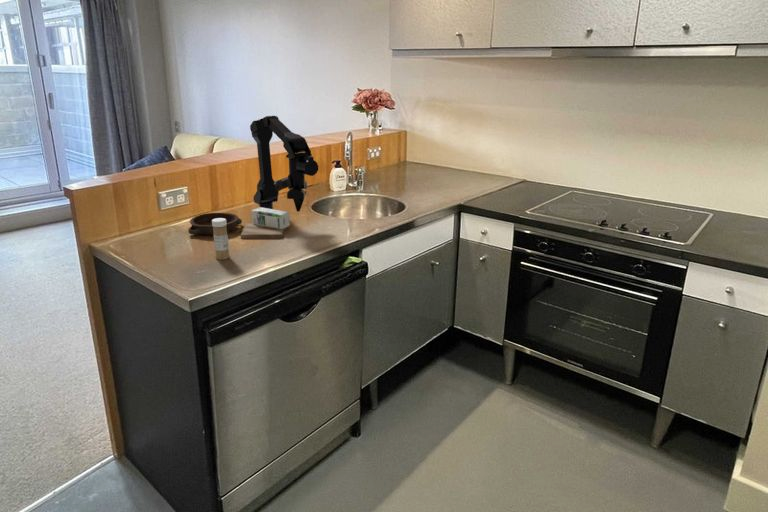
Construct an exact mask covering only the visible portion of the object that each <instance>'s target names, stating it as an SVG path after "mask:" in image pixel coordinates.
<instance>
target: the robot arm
mask: <svg viewBox="0 0 768 512" xmlns="http://www.w3.org/2000/svg"><path fill="white" fill-rule="evenodd" d="M249 128H250V129H249V130H250V131H251V132H250V133H251V137H252V138H253V140H254V142H255V143H256V146H257V147H256V148H257V149H256V150H257V158H258V159H257V160H258V168H259V169H258V170H259V180H258V182H257V185H256V192H255V194H254V196H253V203H255V204H257V205H258V208H259V207H262V208H268V209H274V202H278V199H279V193H280V191H282V190H284V189H287V188H288V191H287V193H286V198H287V199H288V200H293V203H294V207H295V210H296V212H298V213H299V212H300V211H301V209H302V206H303V203H304V200H305V197H306V194H307V191H305V190H307V189H308V181H306V180H305V179H306V177H305V176H310V177H314V176H315V175H316V174H317V173H318V171H319V164H318V162H317V161H316V160H315V159H314V156H312V151H311V149H310V147H309V145H308V142H307V140H306V139H305V137H304V136H303V135H301V134H297V133H295V132H293V131H292V130H290V129H289V128H288V127H287V126H286V124H284V123H283V122H282V121H281V120H280V118H279V117H278V116H277V115H266V116H264V117H263V118H259V119H256V120H253V121H252V122H251V124H250V126H249ZM273 134H275V136H277V137H278V139H280V141H282V142H283V145H282V146H283V148H284V150H285V151H286V152H287V154H286V155H285V158H286V159H288V175H287V176H286V177H283V178H280V179H277V180H276V181H275V180H274V179H273V170H272V159H271V147H270V142H271V140H272V138H273ZM304 189H305V190H304Z"/></svg>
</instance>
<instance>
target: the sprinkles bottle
mask: <svg viewBox="0 0 768 512" xmlns="http://www.w3.org/2000/svg"><path fill="white" fill-rule="evenodd" d="M226 225H227V222H226V219H225V218H216V219H213V220H212V226H213V232H214V235H213V244H214V251H215V259H216V260H223V261H224V260H228V259H229V258H230V253H229V251H230V250H229V237H228V232H227V228H226Z"/></svg>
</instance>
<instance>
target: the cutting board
mask: <svg viewBox="0 0 768 512" xmlns="http://www.w3.org/2000/svg"><path fill="white" fill-rule="evenodd" d="M285 230H286V228H283V229H278V228H273V227H267V226H262V225H256V224H252V221H247V223H246V224H245V227H244V228H243V230H242V232H241V233H240V239H282V238H283V235H284V232H285Z"/></svg>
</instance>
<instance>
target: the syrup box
mask: <svg viewBox="0 0 768 512" xmlns="http://www.w3.org/2000/svg"><path fill="white" fill-rule="evenodd" d="M250 211H251V222H252V224H256V225H262V226H267V227H273V228H278V229H283V228H285V229H286V228H288V227H290V225H291V224H290V223H291V221H290V212H289V211H284V210H278V209H274V208H273V209H268V208H262V207H259V206H258V207H256V208H254V209H252V210H250Z"/></svg>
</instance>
